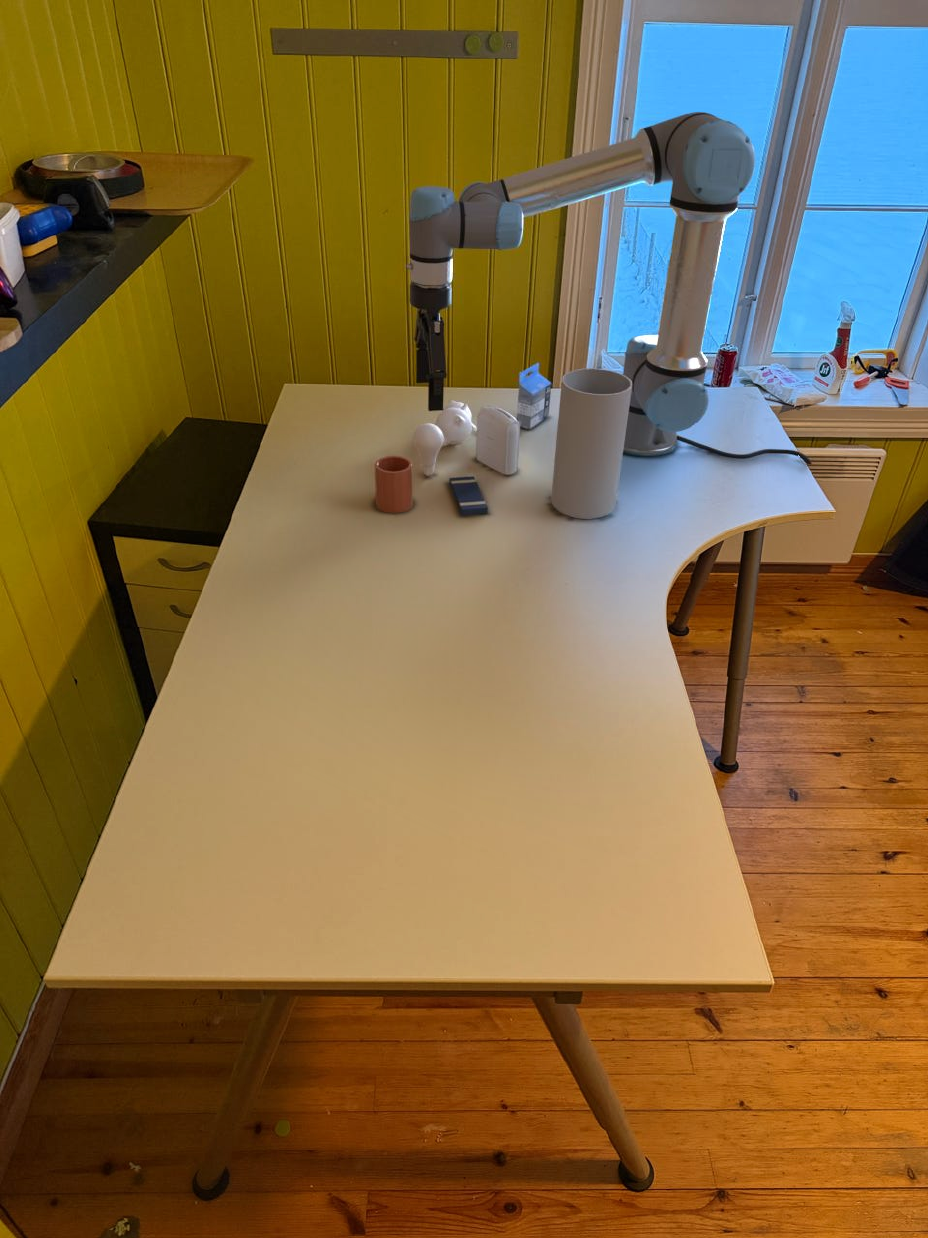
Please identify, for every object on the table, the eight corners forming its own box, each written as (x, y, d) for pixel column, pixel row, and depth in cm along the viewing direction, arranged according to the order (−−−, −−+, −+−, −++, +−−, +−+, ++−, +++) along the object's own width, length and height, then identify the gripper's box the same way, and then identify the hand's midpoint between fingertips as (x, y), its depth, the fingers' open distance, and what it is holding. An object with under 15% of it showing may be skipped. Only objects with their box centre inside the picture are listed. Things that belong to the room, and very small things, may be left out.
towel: (473, 482, 184) (473, 475, 183) (487, 514, 174) (487, 507, 173) (449, 483, 183) (449, 477, 182) (461, 515, 173) (462, 509, 172)
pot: (419, 501, 177) (419, 461, 172) (400, 516, 172) (399, 475, 167) (388, 492, 180) (387, 452, 175) (369, 507, 175) (367, 466, 170)
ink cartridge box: (530, 430, 204) (534, 377, 197) (515, 426, 206) (518, 373, 199) (549, 417, 210) (553, 365, 203) (534, 413, 212) (538, 361, 205)
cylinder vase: (584, 527, 170) (599, 400, 155) (537, 502, 178) (547, 378, 163) (628, 507, 177) (646, 383, 162) (580, 483, 185) (594, 363, 170)
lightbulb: (448, 472, 187) (448, 421, 181) (434, 484, 183) (435, 433, 176) (421, 465, 189) (421, 415, 183) (407, 477, 185) (407, 427, 178)
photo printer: (472, 459, 192) (474, 403, 185) (488, 454, 194) (490, 399, 187) (504, 477, 186) (508, 420, 178) (520, 472, 188) (524, 415, 181)
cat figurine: (453, 386, 199) (447, 406, 189) (492, 413, 202) (489, 434, 192) (431, 417, 204) (424, 438, 194) (470, 443, 206) (466, 465, 197)
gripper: (399, 263, 172) (400, 372, 184) (421, 304, 152) (420, 423, 165) (438, 262, 173) (436, 370, 186) (465, 303, 154) (461, 421, 166)
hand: (429, 395), depth 175 cm, fingers open, 13 cm apart
